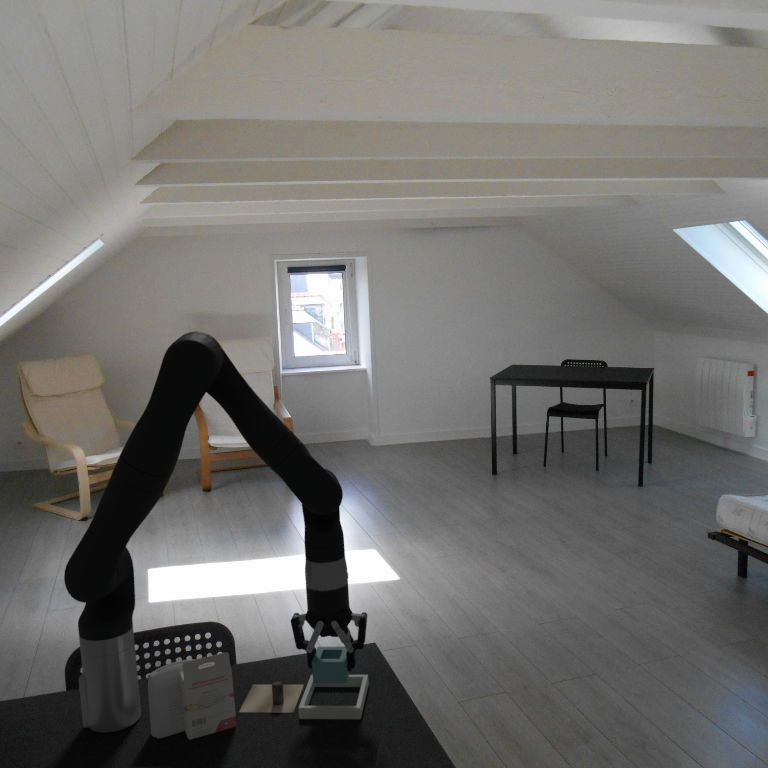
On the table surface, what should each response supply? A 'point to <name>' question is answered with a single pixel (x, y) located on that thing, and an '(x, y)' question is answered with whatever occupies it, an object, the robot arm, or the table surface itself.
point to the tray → (334, 711)
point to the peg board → (272, 698)
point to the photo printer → (166, 700)
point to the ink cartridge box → (207, 695)
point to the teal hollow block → (330, 665)
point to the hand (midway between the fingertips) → (332, 669)
